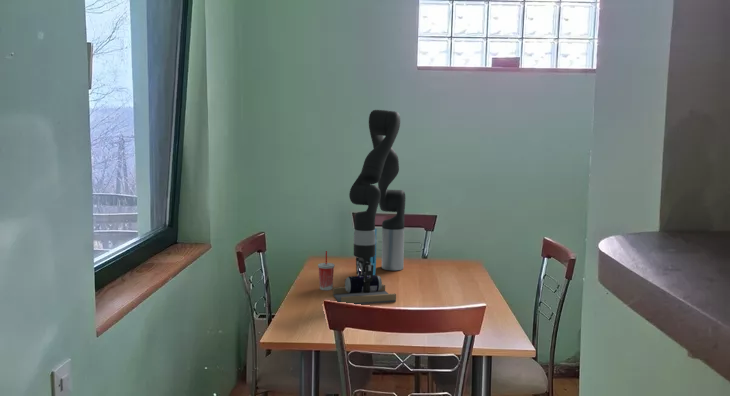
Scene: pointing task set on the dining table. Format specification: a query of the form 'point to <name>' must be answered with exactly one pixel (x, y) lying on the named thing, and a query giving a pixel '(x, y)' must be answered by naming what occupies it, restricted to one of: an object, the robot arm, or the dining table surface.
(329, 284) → the beverage cup
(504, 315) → the dining table surface
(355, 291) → the beverage can
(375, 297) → the brown open tray
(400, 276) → the dining table surface
